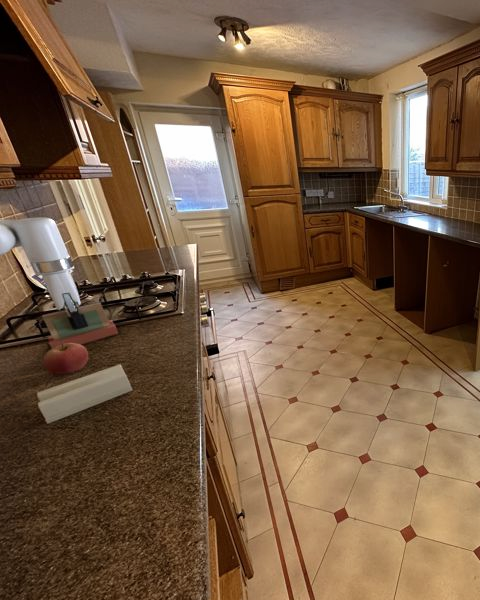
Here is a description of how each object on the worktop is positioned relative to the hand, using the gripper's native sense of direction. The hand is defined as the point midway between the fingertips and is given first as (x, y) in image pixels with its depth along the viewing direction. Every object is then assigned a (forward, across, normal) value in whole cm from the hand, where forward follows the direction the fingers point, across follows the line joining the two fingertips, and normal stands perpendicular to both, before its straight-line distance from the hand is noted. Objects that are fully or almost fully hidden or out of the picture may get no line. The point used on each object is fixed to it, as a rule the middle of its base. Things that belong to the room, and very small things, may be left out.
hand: (80, 326), depth 93 cm
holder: (+6, +33, -3) cm, 34 cm away
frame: (+5, 0, 0) cm, 5 cm away
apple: (+6, +16, -4) cm, 17 cm away
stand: (+6, 0, 0) cm, 6 cm away
